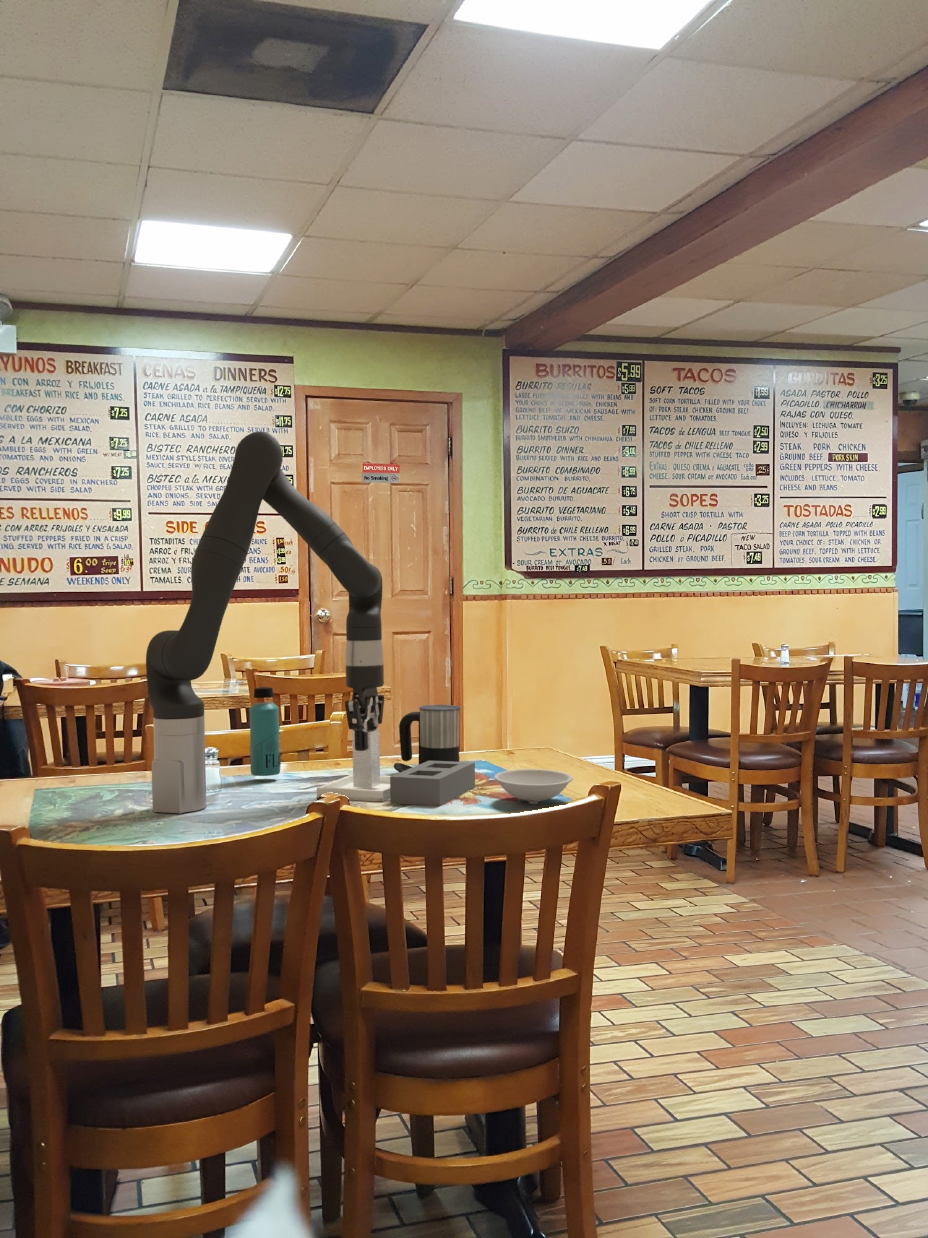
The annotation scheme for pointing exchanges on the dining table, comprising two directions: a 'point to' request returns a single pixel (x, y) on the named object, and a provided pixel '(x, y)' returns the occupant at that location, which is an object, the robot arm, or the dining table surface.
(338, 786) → the tray
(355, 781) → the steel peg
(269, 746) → the beverage bottle
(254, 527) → the robot arm
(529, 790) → the dish
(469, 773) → the slotted block
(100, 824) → the dining table surface
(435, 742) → the milk frother
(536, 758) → the dining table surface
